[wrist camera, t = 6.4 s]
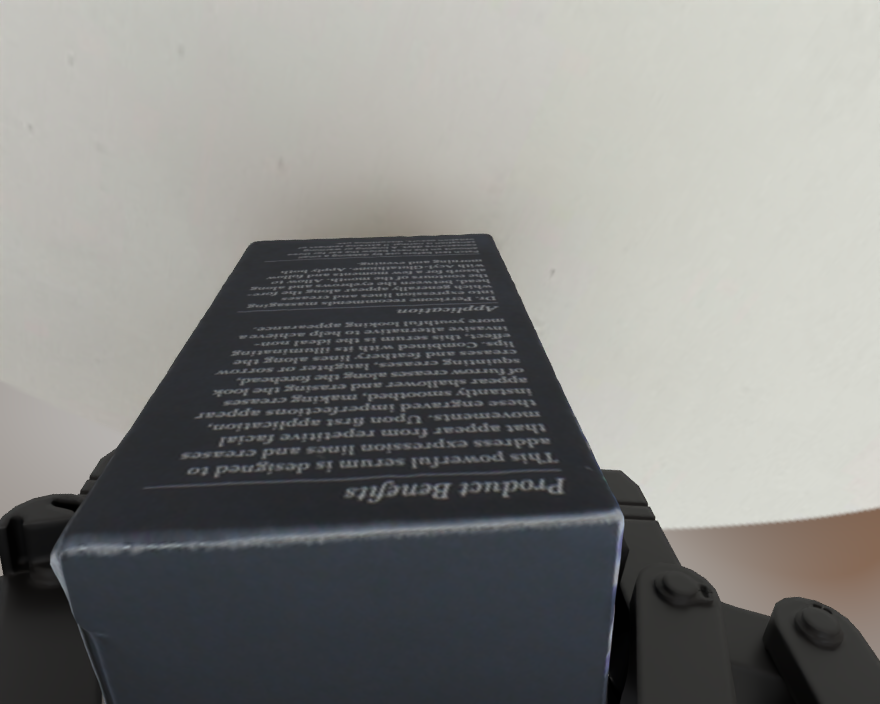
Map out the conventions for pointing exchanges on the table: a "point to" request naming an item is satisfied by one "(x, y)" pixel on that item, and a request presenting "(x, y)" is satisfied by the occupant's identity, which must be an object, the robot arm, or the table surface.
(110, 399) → the table surface
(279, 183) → the table surface
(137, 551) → the box
